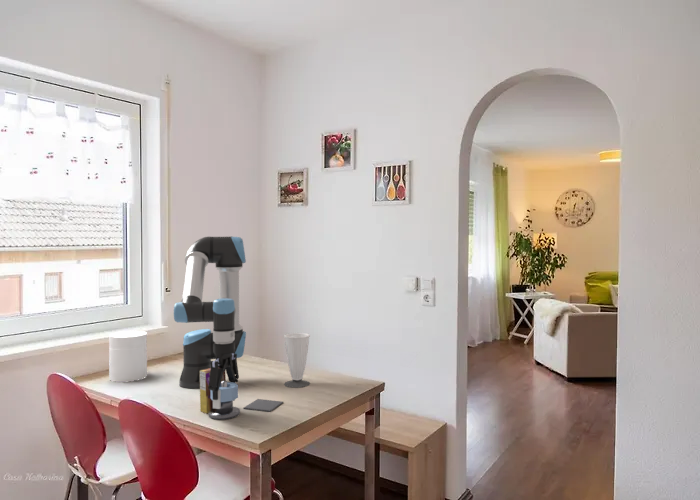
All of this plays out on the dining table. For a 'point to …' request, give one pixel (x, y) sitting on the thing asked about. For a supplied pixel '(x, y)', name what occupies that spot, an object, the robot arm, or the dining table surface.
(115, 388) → the dining table surface
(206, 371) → the candy box
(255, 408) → the mat
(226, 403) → the stand
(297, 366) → the cup
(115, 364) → the canister
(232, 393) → the ring
